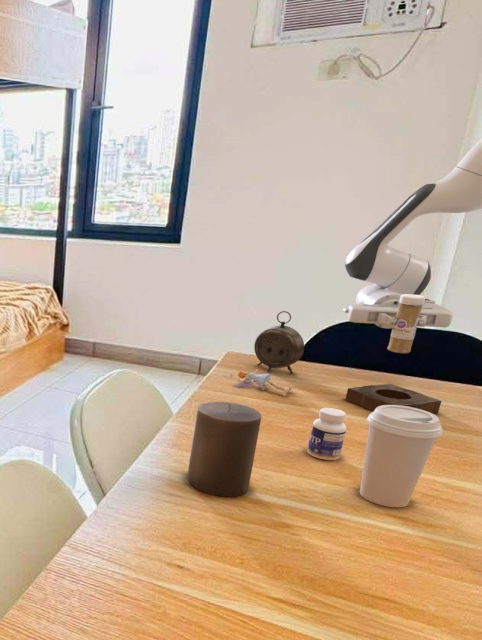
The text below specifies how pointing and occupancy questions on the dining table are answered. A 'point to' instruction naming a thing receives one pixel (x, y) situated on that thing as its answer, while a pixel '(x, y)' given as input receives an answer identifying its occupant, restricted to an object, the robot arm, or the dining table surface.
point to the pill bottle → (327, 434)
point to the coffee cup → (396, 453)
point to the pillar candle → (223, 448)
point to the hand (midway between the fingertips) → (407, 322)
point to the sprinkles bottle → (406, 323)
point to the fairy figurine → (262, 382)
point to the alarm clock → (279, 346)
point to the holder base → (391, 397)
